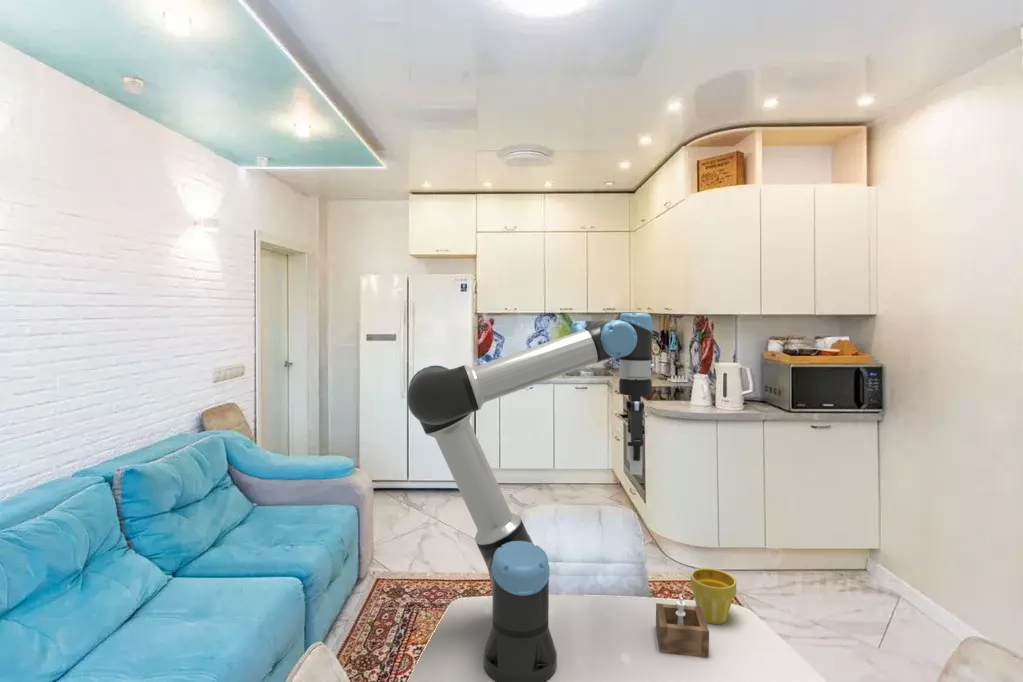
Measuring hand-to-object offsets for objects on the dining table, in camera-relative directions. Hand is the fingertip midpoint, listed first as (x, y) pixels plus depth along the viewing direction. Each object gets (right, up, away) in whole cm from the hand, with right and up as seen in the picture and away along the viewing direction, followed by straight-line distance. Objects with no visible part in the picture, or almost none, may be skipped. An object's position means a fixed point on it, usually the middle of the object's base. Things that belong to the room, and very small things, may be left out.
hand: (634, 466), depth 128 cm
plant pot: (+19, -37, +2) cm, 42 cm away
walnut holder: (+8, -37, -9) cm, 39 cm away
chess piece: (+8, -37, -8) cm, 38 cm away
